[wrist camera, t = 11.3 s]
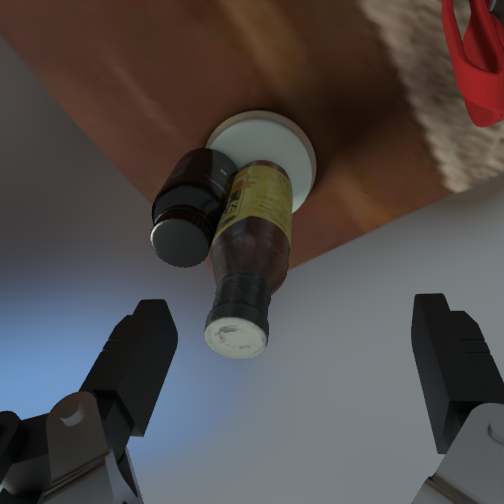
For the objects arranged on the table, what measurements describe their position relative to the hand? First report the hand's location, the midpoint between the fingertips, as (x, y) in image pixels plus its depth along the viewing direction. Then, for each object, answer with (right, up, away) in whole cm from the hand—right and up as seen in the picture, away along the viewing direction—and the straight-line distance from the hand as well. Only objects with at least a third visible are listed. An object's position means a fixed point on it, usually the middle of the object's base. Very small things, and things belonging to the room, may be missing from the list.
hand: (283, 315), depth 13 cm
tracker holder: (+16, +20, +21) cm, 33 cm away
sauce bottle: (0, +9, +27) cm, 29 cm away
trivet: (0, +11, +29) cm, 31 cm away
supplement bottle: (-5, +10, +28) cm, 30 cm away
